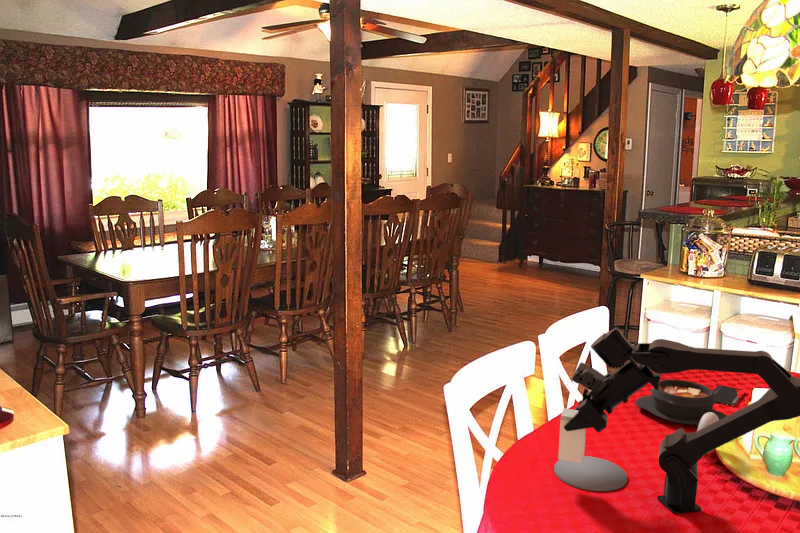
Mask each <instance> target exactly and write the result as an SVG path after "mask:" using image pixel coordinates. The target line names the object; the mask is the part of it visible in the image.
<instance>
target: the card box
mask: <svg viewBox="0 0 800 533" xmlns="http://www.w3.org/2000/svg"><path fill="white" fill-rule="evenodd" d="M577 412H578V410H575V409H570V408H567V407H566V408H565V407H564V408H563V410H562V412H561V415H560V424H559V438H558V439H559V440H558V455H557V458H558V460H566V461H572V462H578V463H582V461H583V457H584V456H585V448H586V436H587V435H586V433H587V428H585V429H578V430H572V431H566V430H565V429H564V426H565V425H566V424H567V423H568V422H569V421H570V420H571V419H572V418H573V417H574V416H575V414H576V413H577Z"/></svg>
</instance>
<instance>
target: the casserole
mask: <svg viewBox="0 0 800 533" xmlns="http://www.w3.org/2000/svg"><path fill="white" fill-rule="evenodd" d="M716 402H717V400H716V398H715V397H714V393H713V390H712V389H711V388H709V387H708V386H706V385H705V384H704V385H703V384H701V383H698V382H694V381H691V380H690V381H689V380H684V379H683V380H682V379H662V380H661V379H660V381H659V389H658V390H656V389H655V388H654V387H653V386H652V388H651V389H650V394H649V395H643V396H641V397H639V398H637V399H636V400H635V401H634V404H635V405H636V406H637V407H638V408H641V409H643V410H645V411H647V412H649V413H651V414H652V415H654V416H656V417H658V418H661V419H663V420H666V421H668V422H671V423H675V424H681V425H686V426H687V425H688V426H689V425H690V426H691V425H693V426H699V422H700V420H701V418H702V416H703V415H704V414H706V413H708V412H712V413H714V414H716V415H717V416H718V418H719V420H720V419H722V418H724V417H726V416H728V415H729V414H728V415H727V414H726V413H724V412H721V411H718V410H716V409H714V408H713V407H714V405H715V404H717V403H718V402H717V403H716Z"/></svg>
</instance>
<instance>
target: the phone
mask: <svg viewBox="0 0 800 533" xmlns="http://www.w3.org/2000/svg"><path fill="white" fill-rule="evenodd" d="M737 389H739V390H742V389H740V388H735V387H732V386H727V385H723V384H721V385H719V384H718V385H717V386H716V387H714V389H713V390H712V391H713V393H714V397H715V398H716V400H717V403H723V404H728V405H735V404H736V403H737V401H738V400H739V399H740V397H741V396H742V395H741V396H740V397H739V398H738V397H737V395H738V394H737V392H738V391H736V390H737ZM740 400H741V399H740ZM740 400H739V401H740ZM723 404H722V405H723ZM737 404H738V403H737ZM737 404H736V405H737ZM736 405H735V406H736Z"/></svg>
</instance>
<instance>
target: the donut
mask: <svg viewBox="0 0 800 533" xmlns="http://www.w3.org/2000/svg"><path fill="white" fill-rule="evenodd" d="M718 420H719V418H718V416H717V415H716V414H714V413H712V412H708V413H706V414H704V415H703V416H702V418H701V420H700V422H699V425H697V430H696V432H697V431H699V430H701V429H703V428H705V427H707V426H709V425H711V424H713V423H714V422H716V421H718ZM713 451H714V450H712V451H710V452H708V453H707V454H710V453H712V452H713Z"/></svg>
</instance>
